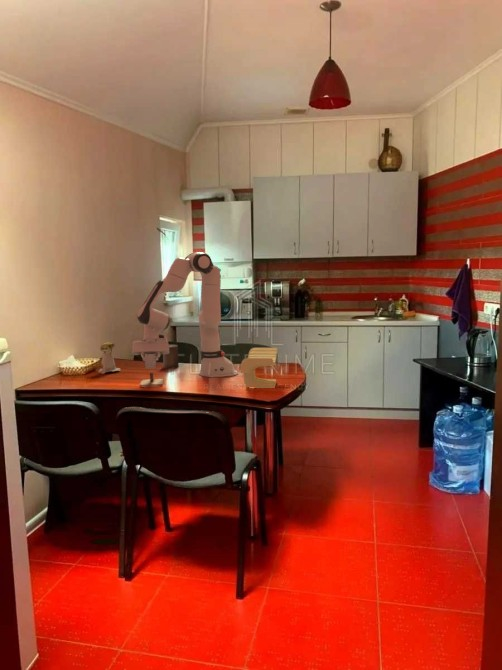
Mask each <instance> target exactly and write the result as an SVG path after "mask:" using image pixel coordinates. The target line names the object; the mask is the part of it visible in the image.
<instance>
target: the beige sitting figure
mask: <svg viewBox="0 0 502 670" xmlns="http://www.w3.org/2000/svg"><path fill="white" fill-rule="evenodd" d="M115 346H116V344H115V343H114V342H109V341H107V342H104V343H102V345H100V347H99V348H100V349H99V350H100V351H101V352H103V355H102V359H101V363H100V364H101V366H102V367H103V368H100V369H99V370H98V373H99V374H102V375H103V374H105V373H109V372H113V373H114V372H121V368H119V367H117V366H116V363H115V359H114V356H113V354H112V353H113V349H114V348H115Z"/></svg>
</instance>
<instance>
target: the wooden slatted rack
mask: <svg viewBox="0 0 502 670" xmlns="http://www.w3.org/2000/svg"><path fill="white" fill-rule="evenodd" d="M277 356H278V347H251V348H250V350H249V351H248V354H247V357H246V358H243V360H242V361H241V362H240V373H242V374H243V382H244V385H245V386H246V387H247V388H248V387H255V388H274V389H275V388H276V385H277V379H267V378H260V377H258V376H256V374H255V372H256V371H255V370H256V369H257V368H262V367H274V366H275V364H276V362H277Z"/></svg>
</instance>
